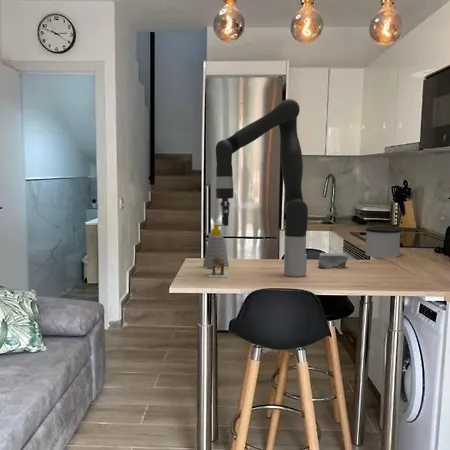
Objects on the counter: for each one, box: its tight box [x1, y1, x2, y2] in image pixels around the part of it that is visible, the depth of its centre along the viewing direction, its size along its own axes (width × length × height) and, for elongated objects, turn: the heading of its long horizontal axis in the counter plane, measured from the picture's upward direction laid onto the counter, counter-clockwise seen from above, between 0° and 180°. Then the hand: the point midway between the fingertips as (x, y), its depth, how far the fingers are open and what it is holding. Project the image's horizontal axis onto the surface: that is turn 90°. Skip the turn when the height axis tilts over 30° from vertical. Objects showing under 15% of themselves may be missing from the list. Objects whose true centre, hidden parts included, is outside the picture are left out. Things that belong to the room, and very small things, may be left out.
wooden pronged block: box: [211, 257, 225, 275], centre depth 206 cm, size 5×5×7 cm
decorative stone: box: [318, 252, 349, 269], centre depth 228 cm, size 15×7×10 cm
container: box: [364, 226, 402, 258], centre depth 268 cm, size 19×19×15 cm
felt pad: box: [208, 271, 229, 278], centre depth 207 cm, size 8×11×1 cm
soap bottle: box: [202, 223, 230, 269], centre depth 226 cm, size 12×12×20 cm
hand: (225, 224), depth 206 cm, fingers open, 8 cm apart
